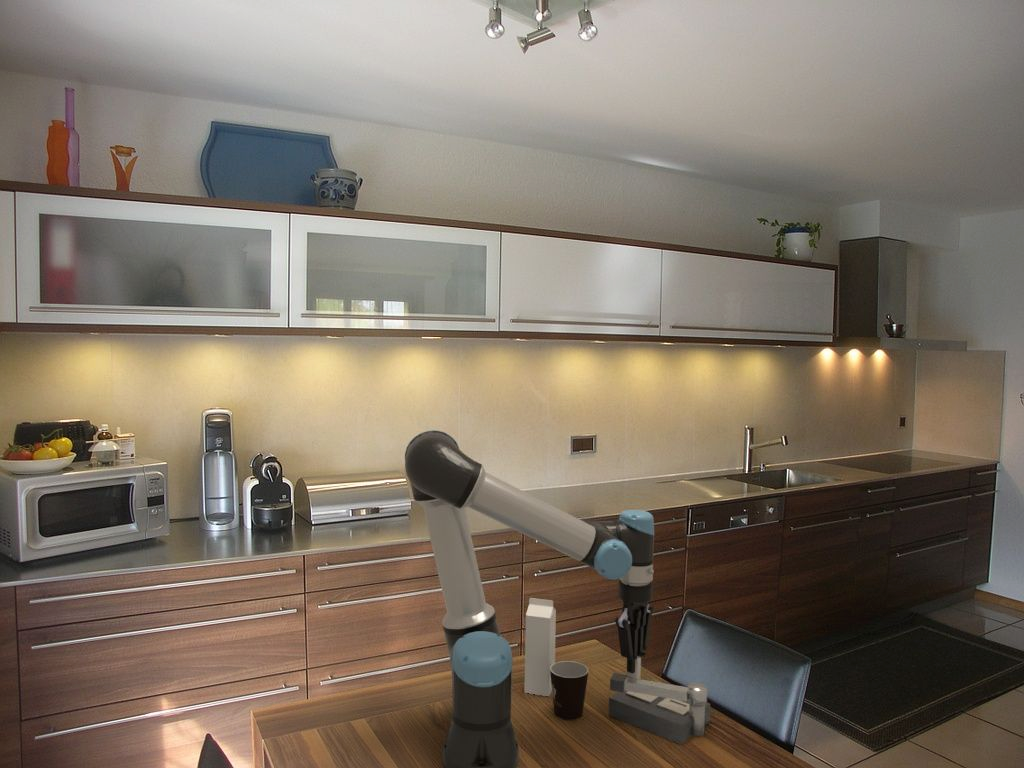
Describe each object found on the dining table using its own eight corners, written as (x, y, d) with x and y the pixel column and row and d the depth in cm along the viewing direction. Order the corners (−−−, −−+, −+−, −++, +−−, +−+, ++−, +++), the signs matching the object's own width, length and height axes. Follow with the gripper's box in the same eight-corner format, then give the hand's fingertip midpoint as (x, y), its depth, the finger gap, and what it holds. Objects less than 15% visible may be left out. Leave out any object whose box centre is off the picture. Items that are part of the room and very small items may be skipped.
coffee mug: (585, 724, 156) (586, 679, 156) (546, 720, 158) (547, 675, 157) (590, 699, 167) (591, 657, 167) (553, 695, 169) (554, 654, 169)
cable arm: (707, 699, 154) (708, 684, 154) (705, 707, 151) (706, 692, 150) (613, 682, 161) (613, 668, 161) (609, 690, 158) (610, 676, 157)
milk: (530, 682, 176) (532, 593, 175) (554, 686, 174) (556, 596, 173) (524, 693, 170) (525, 601, 169) (549, 697, 168) (550, 604, 167)
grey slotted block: (608, 715, 160) (609, 686, 160) (639, 695, 170) (639, 668, 170) (688, 747, 147) (689, 716, 147) (716, 723, 157) (717, 694, 157)
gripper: (635, 591, 152) (633, 701, 153) (664, 577, 162) (662, 680, 163) (605, 584, 157) (603, 690, 158) (635, 570, 166) (633, 670, 167)
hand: (633, 684), depth 160 cm, fingers closed
